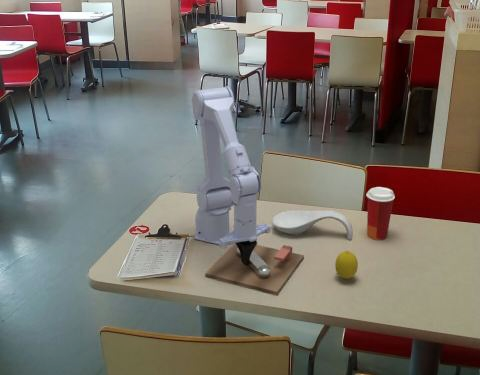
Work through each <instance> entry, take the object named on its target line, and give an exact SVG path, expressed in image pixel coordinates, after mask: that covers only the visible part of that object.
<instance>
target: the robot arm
mask: <svg viewBox="0 0 480 375" xmlns="http://www.w3.org/2000/svg"><path fill="white" fill-rule="evenodd" d="M191 104H192V105H191V106H192V114H193V118H194V120H197V121H199V124H200V135H201V142H202V144H201V145H202V153H203V162H204V170H205V173H204V174H205V178H204V179H203V180H202V181H200V182H199V183H198V185H197V186H196V187H197V190H196V191H197V193H196V201H197V207H198V208H197V210H196V213H195V217H194V218H195V237H194V239H195V240H198V241H202V242H206V243H210V244H211V243H212V244H214V245H219V246H220V247H221V248H222V249H224V250H225V249H226V248H228V246H232V245H234V244H235V243H236V245H237V247H238V249H239V251H240V254H241V261H242V263H243V264H245V265H249V263H250V256H251V253H252V251H253V249H254V248H255V246H256V245H258V237H259V236H261V235H263V234H271V225H269V224H267V223H263V224H258V225H257V222H258V220H257V204H258V202H257V194H258V193H260V192H261V190H262V181H261V177H260V174H259V173H258V171H257V170H256V169H255V167H254V166H252V165H251V162H250V159H249V155H248V153H247V150H246V147H245V146H244V145H243V144H241V143H240V142H239V140H238V135H237V131H236V127H235V124H234V118H233V114H232V113H233V112H234V108H235V96H234V92H233V91H232V89H231V88H230V86H226V85H225V86H223V87H217V88H216V87H214V88H206V89H200V90H199V89H195V90H194V92H193V94H192V96H191ZM220 138H221V139H220ZM221 140H222V143H223V145H224V150H223V152H222V148H221ZM222 155H223V159H224V161H225V165H226V168H227V171H228V174H229V176H230V178H229V179H228V178H227V177H225V176H224V169H223V159H222ZM232 207H233V231H232V230H230V211H232Z"/></svg>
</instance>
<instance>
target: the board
mask: <svg viewBox="0 0 480 375" xmlns="http://www.w3.org/2000/svg"><path fill="white" fill-rule="evenodd" d="M279 250H280V249H278V248H272V247H268V246H264V245H259V244H257V245H256V246H255V248H254V249H253V251H254V252H255V253H256V254H257V255H258V256H259V257H260V258H261V259H262V260H263V261H264V262H265V263H266V264H267V265H268V266H269V267H270V276H269V277H267V278H262V277H259V276H258V274H257V273H256V272H255V271H254V270H253V269H252V268H251V267H250V266H249V265H245V264H243V263H242V261H241V256H239V255H237V245H236V243H234V244H232V245H231V246H230V248H229V249H227V251H225V252H224V253H223V255H221V257H220V258H218V260H217V261H216V262H214V264H212V266H211V267H210V268H209V269H208V270H207V271H206V272H205V273H204V277H205V278H209V279H212V280H215V281H216V280H217V281H220V282H224V283H228V284H230V285H231V284H232V285H236V286H240V287H243V288H247V289H251V290H255V291H259V292H263V293H265V294H266V293H267V294H270V295H275V296H278V295H279V294H280V292H281V291H282V290H283V289H284V287H285V285H286V284H287V283H288V282H289V280H290V279H291V277H292V276H293V274H294V273H295V272H296V270H297V268H298V267H299V266H300V264H301V263H302V262H303V260H304V259H305V255H304V254H299V253H295V252H292V258H291V260H286V259H284V261H280V260H276V259H274V256H275V255H276V254H277V253H278V251H279Z"/></svg>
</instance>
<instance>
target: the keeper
mask: <svg viewBox="0 0 480 375" xmlns="http://www.w3.org/2000/svg"><path fill="white" fill-rule="evenodd" d="M278 250H279V251H278V253H277V254H276V255H275V256H274V259H276V260H280V261H284V259H286V260H291V258H292V253H293V246H289V245H285V244H283V245H282V247H281V248H279V249H278Z"/></svg>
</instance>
